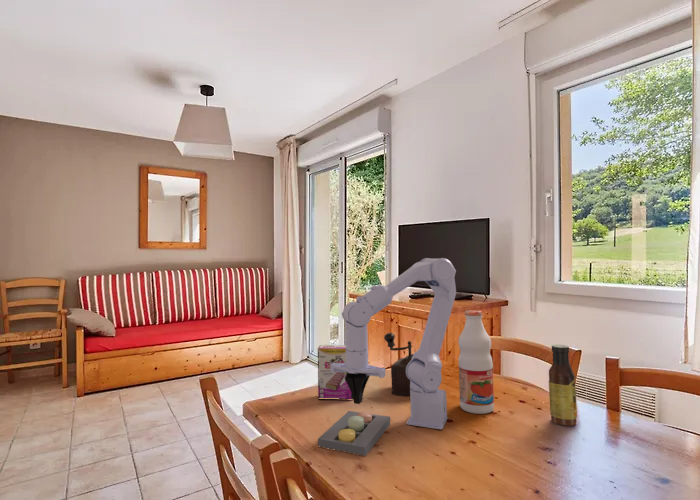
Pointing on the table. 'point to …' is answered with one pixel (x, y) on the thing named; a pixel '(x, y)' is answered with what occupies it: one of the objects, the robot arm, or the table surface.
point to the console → (362, 440)
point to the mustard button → (347, 435)
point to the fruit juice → (475, 366)
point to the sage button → (356, 423)
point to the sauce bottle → (562, 388)
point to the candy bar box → (332, 373)
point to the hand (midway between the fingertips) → (357, 402)
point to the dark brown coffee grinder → (399, 369)
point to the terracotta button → (366, 416)
